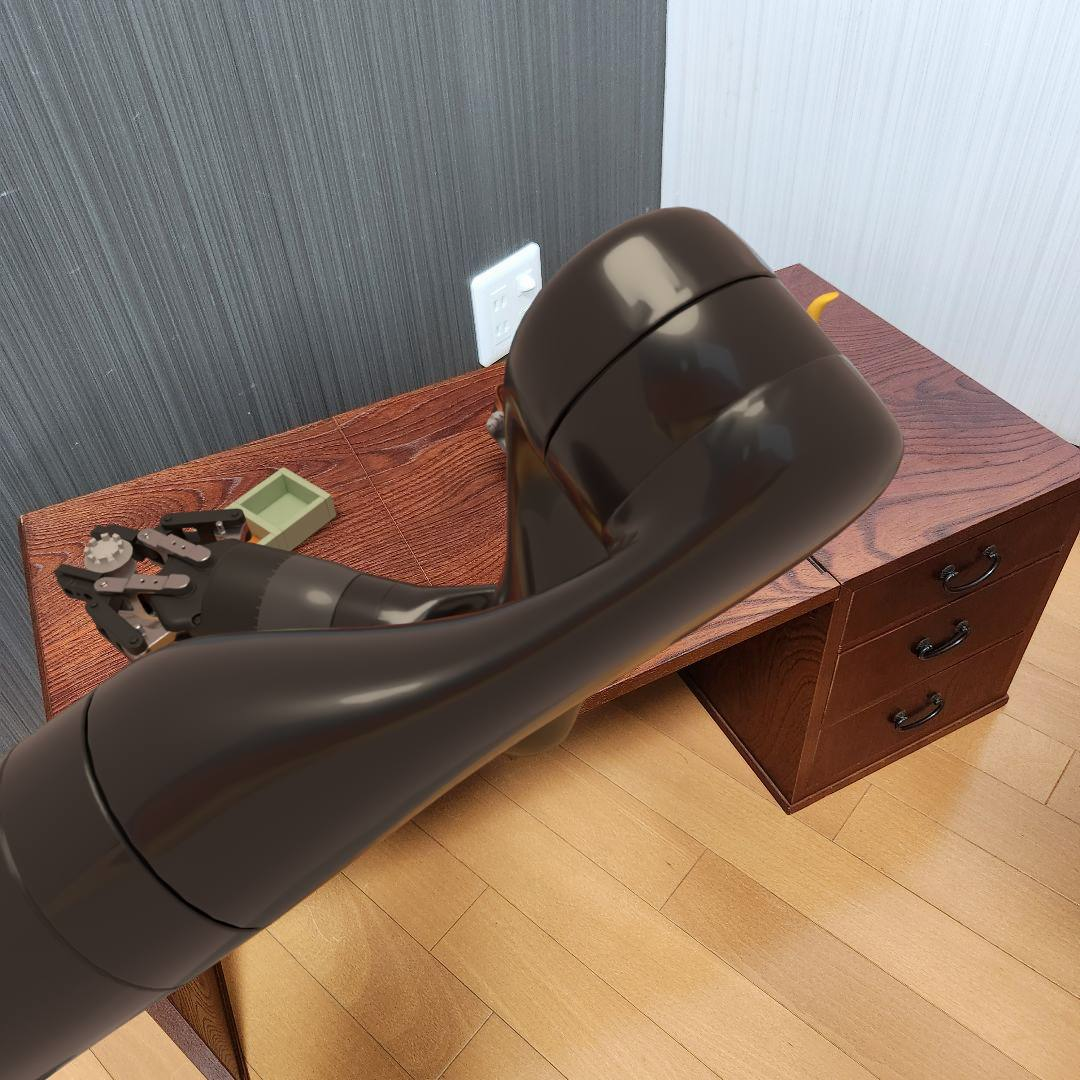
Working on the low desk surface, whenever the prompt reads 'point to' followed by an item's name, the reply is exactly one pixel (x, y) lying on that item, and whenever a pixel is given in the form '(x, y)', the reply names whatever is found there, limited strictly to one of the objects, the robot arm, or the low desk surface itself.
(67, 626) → the low desk surface
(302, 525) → the socket pad
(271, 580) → the robot arm
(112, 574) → the rook chess piece
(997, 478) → the low desk surface
